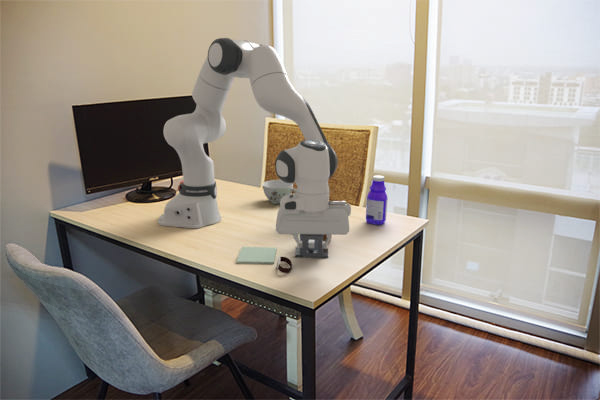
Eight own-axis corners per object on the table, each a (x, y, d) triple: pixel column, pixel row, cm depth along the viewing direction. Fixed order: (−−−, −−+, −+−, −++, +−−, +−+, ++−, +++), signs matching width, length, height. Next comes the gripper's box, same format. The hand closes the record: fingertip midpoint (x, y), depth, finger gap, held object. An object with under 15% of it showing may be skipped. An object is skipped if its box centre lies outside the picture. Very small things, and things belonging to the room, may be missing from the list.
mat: (236, 263, 141) (236, 261, 140) (242, 248, 151) (242, 246, 151) (273, 263, 140) (273, 262, 140) (276, 249, 151) (276, 247, 150)
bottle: (387, 221, 175) (390, 175, 170) (383, 226, 170) (386, 179, 165) (368, 218, 178) (370, 173, 173) (363, 223, 173) (366, 177, 168)
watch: (276, 263, 141) (275, 252, 140) (291, 263, 141) (291, 251, 140) (276, 275, 134) (276, 263, 133) (293, 274, 134) (293, 263, 133)
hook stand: (293, 270, 136) (293, 237, 133) (295, 249, 150) (295, 219, 148) (328, 270, 136) (329, 238, 133) (327, 250, 150) (328, 219, 147)
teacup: (256, 203, 195) (256, 185, 193) (272, 196, 206) (271, 178, 204) (289, 209, 189) (289, 189, 186) (303, 200, 200) (303, 182, 197)
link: (302, 256, 133) (302, 235, 132) (302, 254, 135) (302, 232, 134) (322, 257, 133) (322, 235, 131) (322, 254, 135) (322, 233, 133)
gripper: (350, 197, 132) (348, 244, 136) (276, 197, 133) (277, 243, 137) (352, 204, 126) (350, 253, 130) (274, 203, 127) (275, 252, 131)
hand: (312, 248), depth 134 cm, fingers closed on link, 5 cm apart
